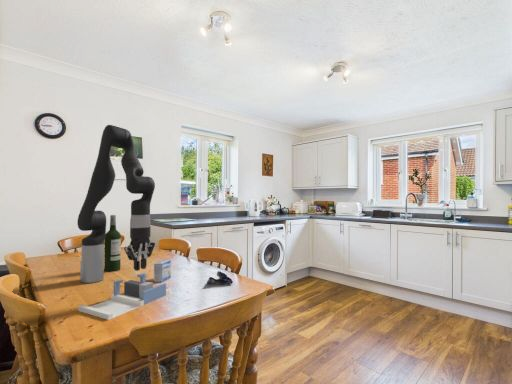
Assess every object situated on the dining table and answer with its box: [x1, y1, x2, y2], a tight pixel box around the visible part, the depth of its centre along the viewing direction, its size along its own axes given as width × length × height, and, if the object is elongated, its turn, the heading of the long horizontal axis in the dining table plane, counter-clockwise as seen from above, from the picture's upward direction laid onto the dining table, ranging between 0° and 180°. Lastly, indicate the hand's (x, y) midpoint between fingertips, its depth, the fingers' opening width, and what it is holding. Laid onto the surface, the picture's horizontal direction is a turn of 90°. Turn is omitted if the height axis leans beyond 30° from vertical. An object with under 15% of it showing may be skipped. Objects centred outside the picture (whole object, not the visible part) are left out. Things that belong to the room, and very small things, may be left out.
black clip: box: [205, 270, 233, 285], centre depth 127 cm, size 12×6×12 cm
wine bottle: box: [104, 214, 122, 273], centre depth 151 cm, size 8×8×30 cm
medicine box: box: [153, 259, 172, 283], centre depth 133 cm, size 8×4×9 cm, turn 168°
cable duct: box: [77, 272, 170, 321], centre depth 104 cm, size 16×26×7 cm, turn 154°
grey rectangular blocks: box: [123, 279, 154, 299], centre depth 110 cm, size 12×4×5 cm, turn 64°
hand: (140, 269), depth 110 cm, fingers open, 2 cm apart
